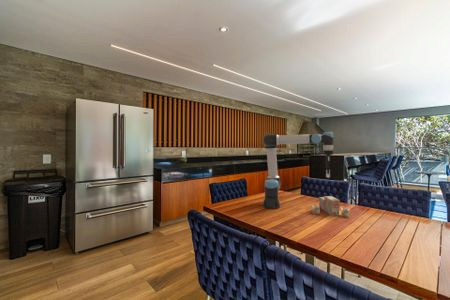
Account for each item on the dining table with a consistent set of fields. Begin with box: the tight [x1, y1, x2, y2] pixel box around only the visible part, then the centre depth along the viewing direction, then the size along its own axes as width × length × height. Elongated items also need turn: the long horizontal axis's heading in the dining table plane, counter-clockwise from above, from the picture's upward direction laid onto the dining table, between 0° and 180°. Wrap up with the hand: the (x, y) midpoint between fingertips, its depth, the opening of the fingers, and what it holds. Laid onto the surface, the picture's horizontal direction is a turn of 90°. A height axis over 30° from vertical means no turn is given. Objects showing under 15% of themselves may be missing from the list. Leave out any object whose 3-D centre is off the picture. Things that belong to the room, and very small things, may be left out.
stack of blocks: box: [318, 195, 341, 217], centre depth 176 cm, size 21×6×12 cm, turn 0°
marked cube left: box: [311, 205, 321, 215], centre depth 173 cm, size 5×5×5 cm
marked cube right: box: [340, 207, 350, 218], centre depth 165 cm, size 5×5×5 cm
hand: (327, 177), depth 185 cm, fingers closed
